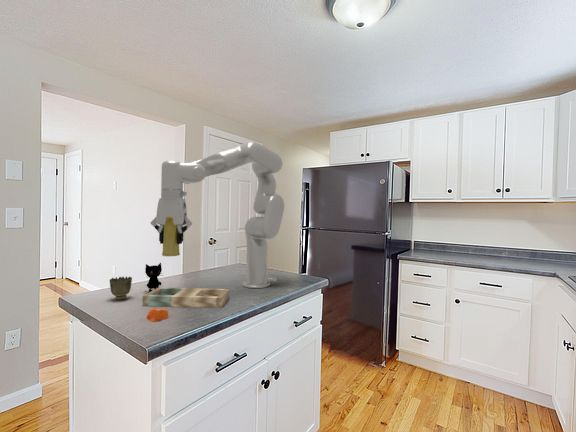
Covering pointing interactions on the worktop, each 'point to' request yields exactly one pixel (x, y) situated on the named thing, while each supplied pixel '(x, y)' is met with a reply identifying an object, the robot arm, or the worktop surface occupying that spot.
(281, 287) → the worktop surface
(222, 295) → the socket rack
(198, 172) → the robot arm
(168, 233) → the vase
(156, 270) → the cat figurine
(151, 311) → the rock
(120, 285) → the cup
